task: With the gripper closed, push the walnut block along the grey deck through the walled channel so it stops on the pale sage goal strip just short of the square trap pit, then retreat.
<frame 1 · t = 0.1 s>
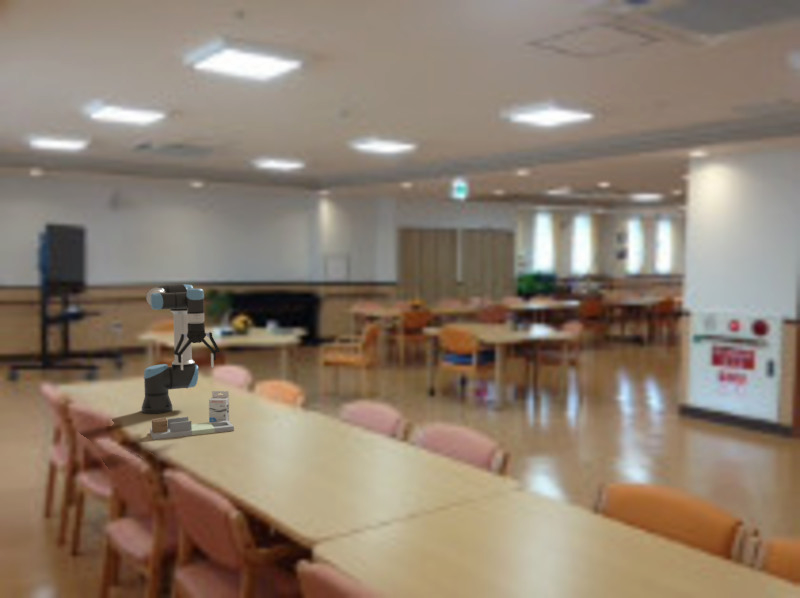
hand: (197, 368, 331), 28 cm above the table, fingers open, 13 cm apart
ink box: (219, 423, 345), on the table
block: (159, 430, 322), point 2 cm above the table, touching deck
deck: (192, 431, 328), on the table
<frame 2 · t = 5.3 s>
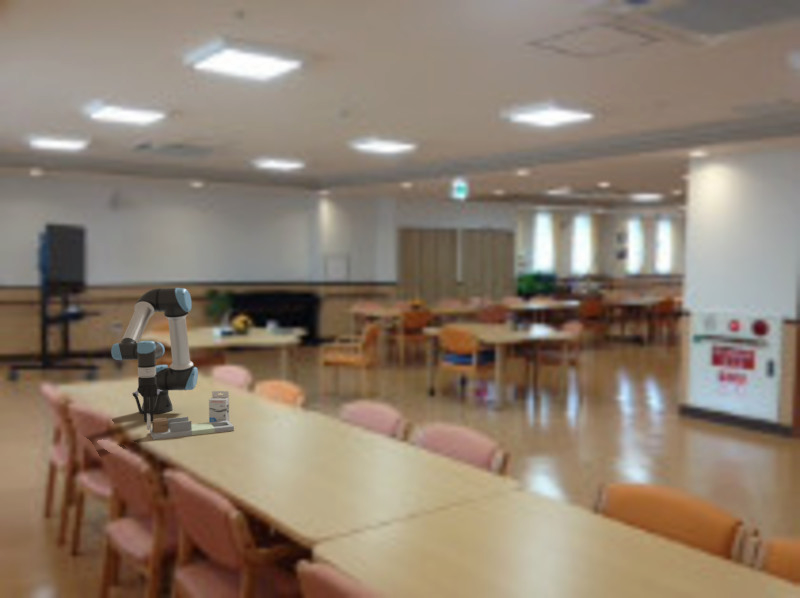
hand: (148, 428, 320), 3 cm above the table, fingers closed
block: (160, 430, 322), point 2 cm above the table, touching gripper
everything else where it was.
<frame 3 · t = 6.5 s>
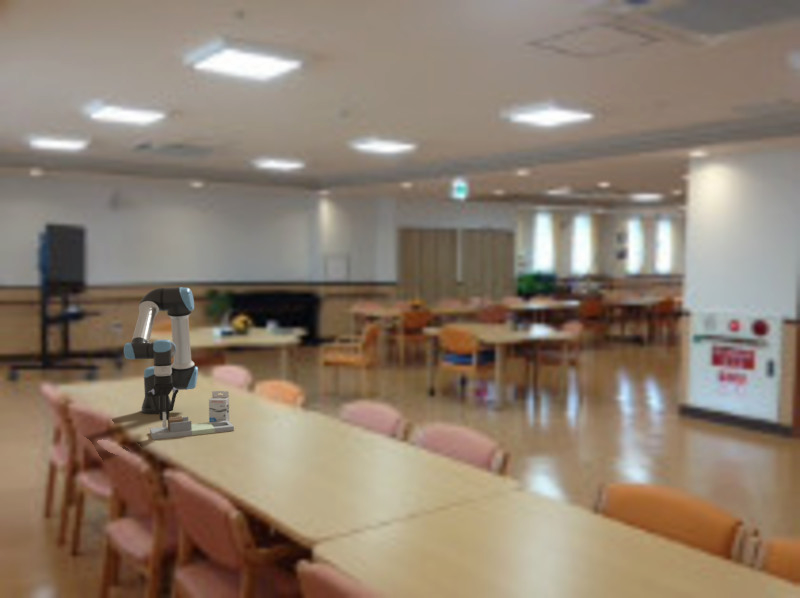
hand: (164, 427, 322), 4 cm above the table, fingers closed
block: (175, 429, 324), point 2 cm above the table, touching gripper
everything else where it was.
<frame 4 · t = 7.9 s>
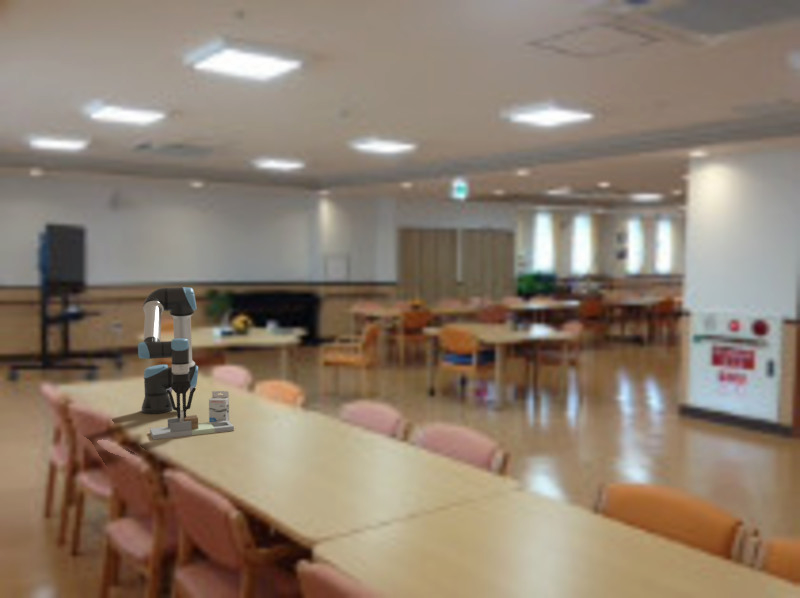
hand: (181, 424, 325), 4 cm above the table, fingers closed
block: (190, 427, 327), point 2 cm above the table, touching deck, gripper
everything else where it was.
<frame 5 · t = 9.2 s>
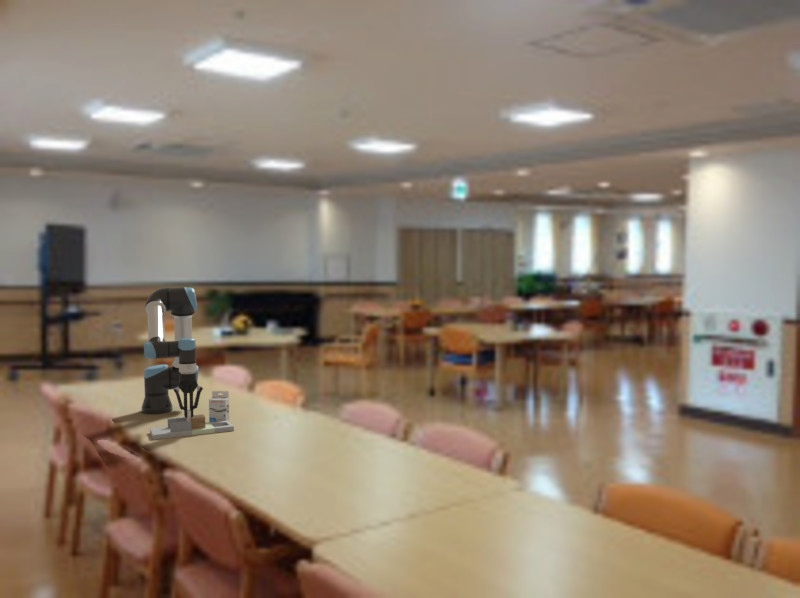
hand: (189, 424, 327), 4 cm above the table, fingers closed
block: (197, 427, 328), point 2 cm above the table, touching deck, gripper
everything else where it was.
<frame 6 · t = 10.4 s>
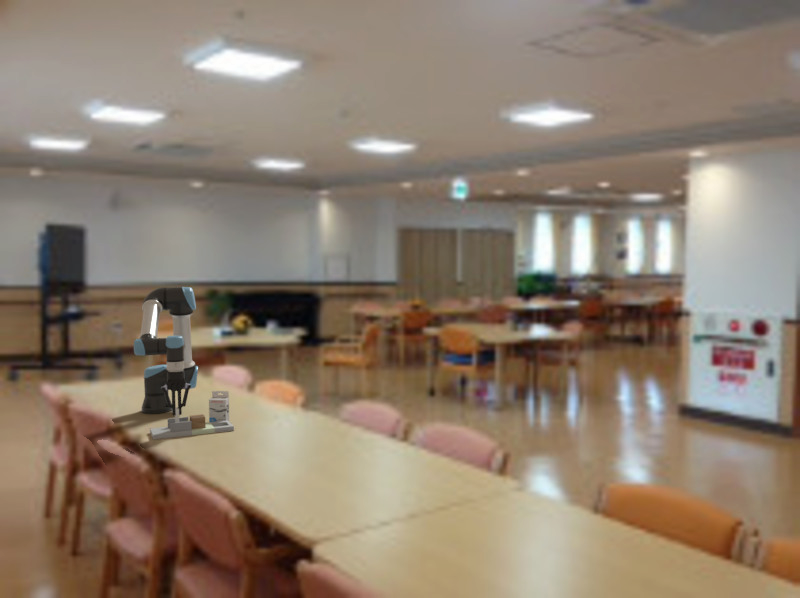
hand: (177, 422, 325), 5 cm above the table, fingers closed
block: (197, 427, 328), point 2 cm above the table, touching deck
everything else where it was.
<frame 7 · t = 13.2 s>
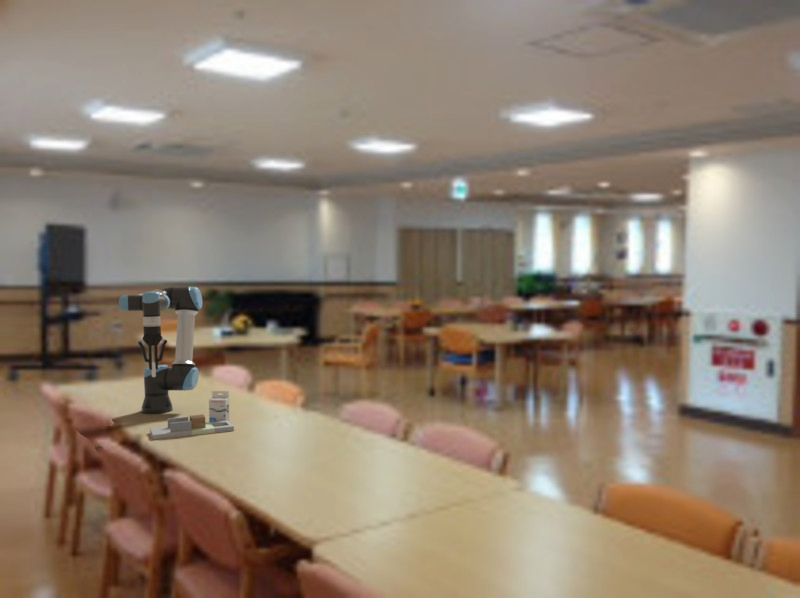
hand: (153, 376, 332), 24 cm above the table, fingers closed
nothing on the table moved.
at the end: block 1.5 cm from the target spot on the deck, point 2.0 cm above the deck's base; block tilted 0°; block touching deck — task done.
